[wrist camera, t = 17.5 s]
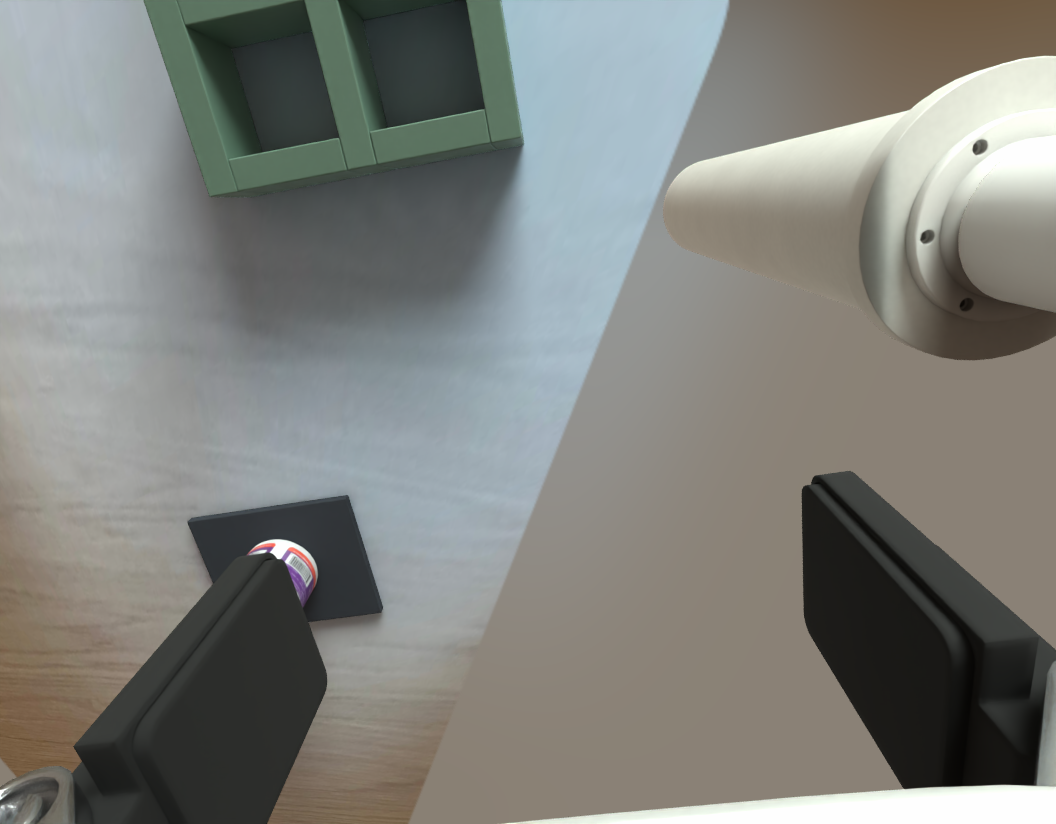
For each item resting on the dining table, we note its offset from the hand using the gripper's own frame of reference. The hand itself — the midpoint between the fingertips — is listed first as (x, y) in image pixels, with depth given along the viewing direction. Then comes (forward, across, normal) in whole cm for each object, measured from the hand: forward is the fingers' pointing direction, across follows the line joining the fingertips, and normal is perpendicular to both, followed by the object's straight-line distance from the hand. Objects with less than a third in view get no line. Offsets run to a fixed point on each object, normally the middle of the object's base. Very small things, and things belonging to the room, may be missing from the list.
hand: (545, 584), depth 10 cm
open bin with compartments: (+28, +8, -14) cm, 32 cm away
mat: (+28, +22, +16) cm, 39 cm away
